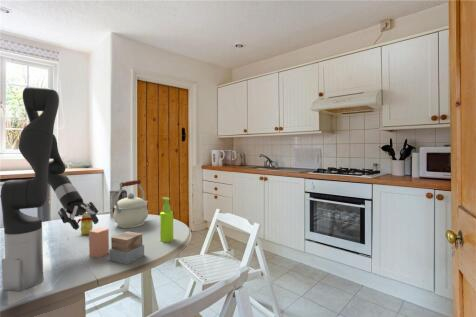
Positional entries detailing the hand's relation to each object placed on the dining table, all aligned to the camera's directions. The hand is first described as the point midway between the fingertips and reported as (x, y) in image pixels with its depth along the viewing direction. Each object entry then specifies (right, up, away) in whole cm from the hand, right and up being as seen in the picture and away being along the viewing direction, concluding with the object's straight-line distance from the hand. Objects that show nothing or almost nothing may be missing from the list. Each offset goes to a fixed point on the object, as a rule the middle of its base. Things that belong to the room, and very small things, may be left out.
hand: (87, 225), depth 107 cm
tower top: (+19, -7, -5) cm, 21 cm away
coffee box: (-14, -9, +58) cm, 61 cm away
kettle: (+2, -10, +41) cm, 42 cm away
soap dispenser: (+29, -11, +15) cm, 34 cm away
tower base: (+19, -12, -5) cm, 23 cm away
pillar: (+6, -11, -2) cm, 13 cm away
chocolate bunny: (-16, -10, +25) cm, 32 cm away
